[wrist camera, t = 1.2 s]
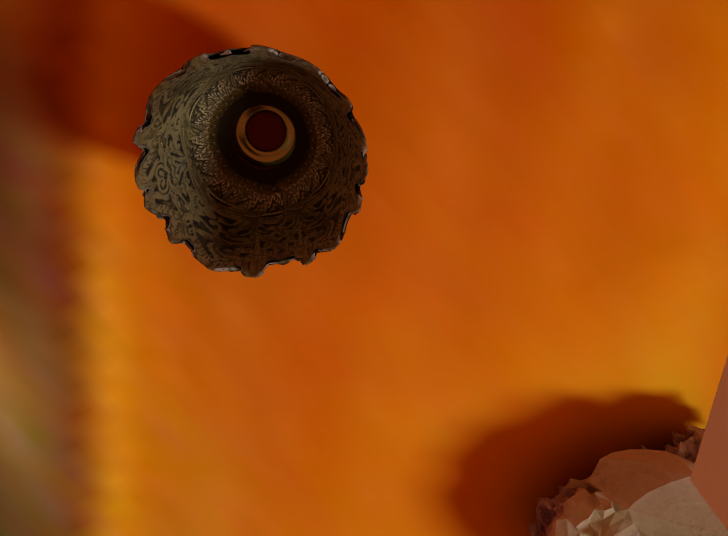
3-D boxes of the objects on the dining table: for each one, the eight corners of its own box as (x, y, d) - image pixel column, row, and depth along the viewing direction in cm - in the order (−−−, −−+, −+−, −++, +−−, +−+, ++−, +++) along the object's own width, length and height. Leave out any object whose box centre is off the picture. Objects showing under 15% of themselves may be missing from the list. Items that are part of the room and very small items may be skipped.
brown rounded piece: (199, 226, 30) (163, 294, 22) (158, 55, 27) (102, 67, 19) (363, 200, 30) (382, 259, 22) (338, 28, 27) (351, 30, 20)
